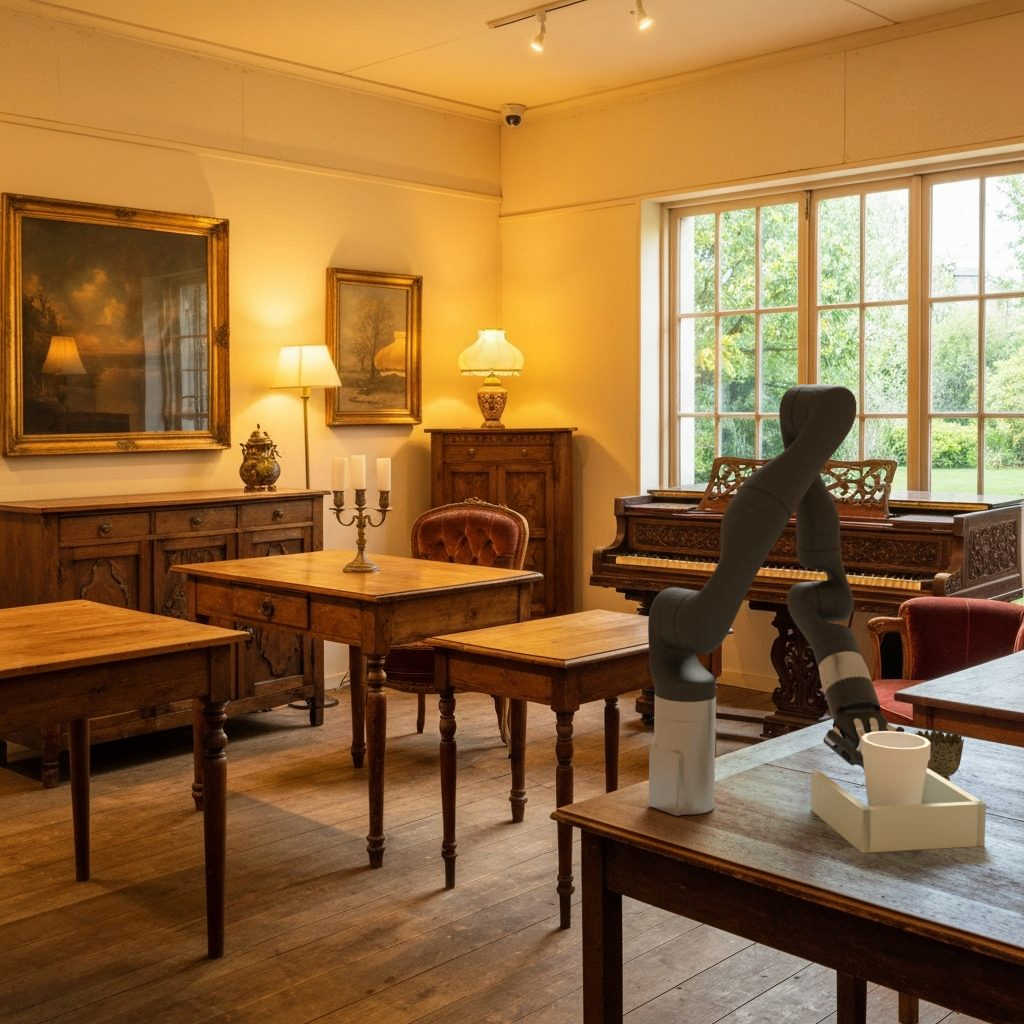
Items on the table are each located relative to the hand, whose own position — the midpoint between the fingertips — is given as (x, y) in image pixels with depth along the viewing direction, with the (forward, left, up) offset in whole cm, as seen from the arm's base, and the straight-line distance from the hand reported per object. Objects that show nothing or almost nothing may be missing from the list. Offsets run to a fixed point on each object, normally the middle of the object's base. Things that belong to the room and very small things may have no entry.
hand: (880, 787), depth 182 cm
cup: (+20, +3, -4) cm, 21 cm away
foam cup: (-3, -4, -4) cm, 7 cm away
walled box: (-3, -4, -4) cm, 7 cm away
